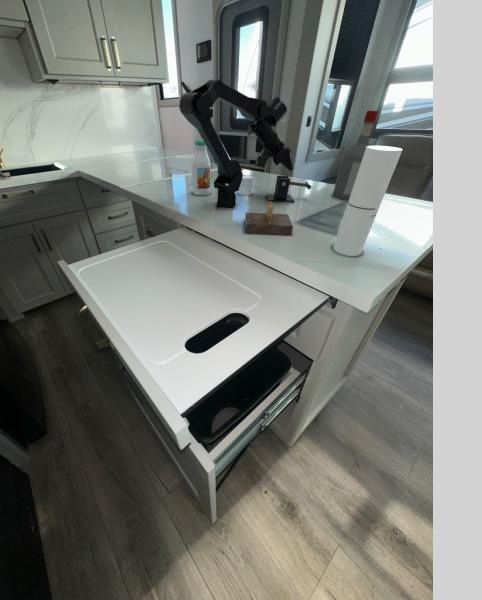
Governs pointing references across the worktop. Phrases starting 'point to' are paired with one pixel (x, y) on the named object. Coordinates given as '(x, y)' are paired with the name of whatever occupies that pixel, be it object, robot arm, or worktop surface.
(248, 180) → the shot glass
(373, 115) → the liquor
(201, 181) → the milk bottle
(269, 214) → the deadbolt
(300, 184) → the latch
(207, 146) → the robot arm
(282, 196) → the latch bracket
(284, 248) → the worktop surface
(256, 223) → the brown flat block
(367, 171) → the cylindrical container
